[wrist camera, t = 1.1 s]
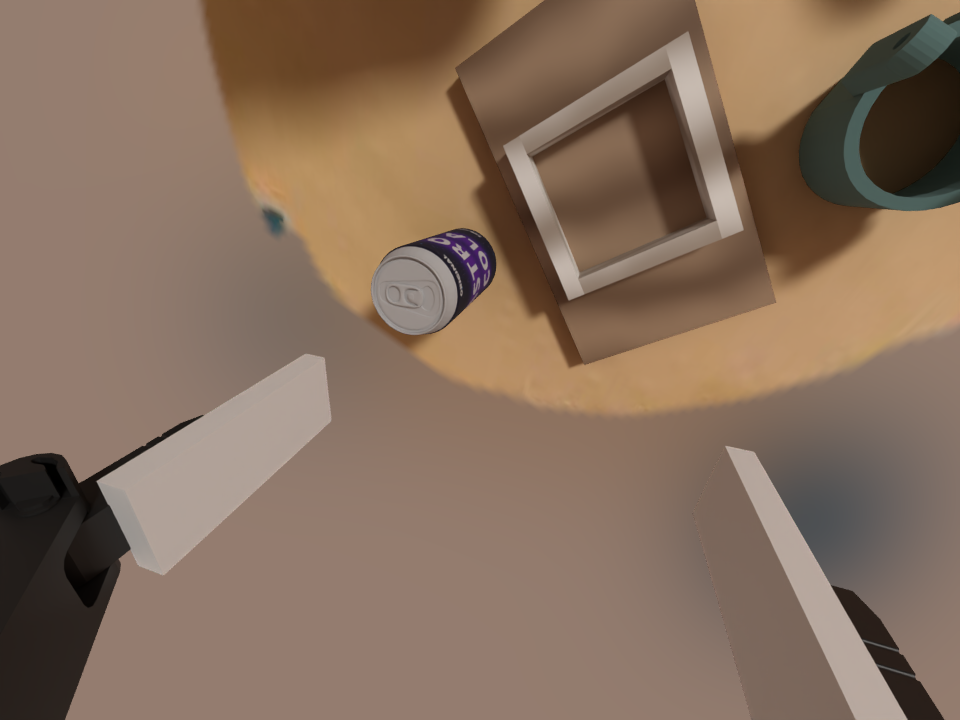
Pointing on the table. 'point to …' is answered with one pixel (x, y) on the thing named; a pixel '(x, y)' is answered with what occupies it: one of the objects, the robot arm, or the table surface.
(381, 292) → the beverage can
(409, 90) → the table surface
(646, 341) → the can holder
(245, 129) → the table surface
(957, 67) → the teal cauldron pot
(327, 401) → the robot arm
